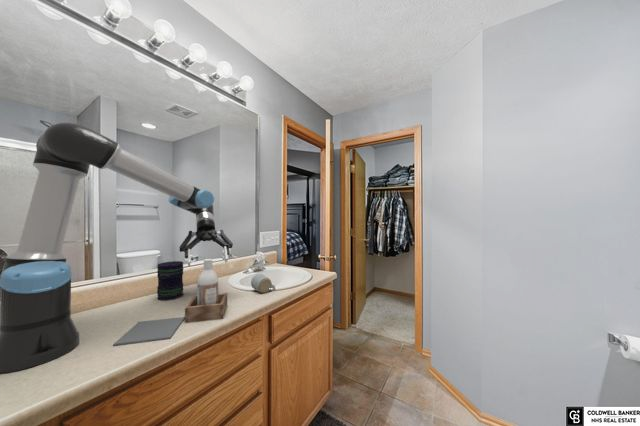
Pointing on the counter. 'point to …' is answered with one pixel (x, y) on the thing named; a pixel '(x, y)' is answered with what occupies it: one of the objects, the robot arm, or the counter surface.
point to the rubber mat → (150, 331)
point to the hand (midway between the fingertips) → (208, 262)
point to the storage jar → (170, 280)
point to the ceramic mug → (261, 283)
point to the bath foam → (207, 285)
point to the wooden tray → (205, 310)
